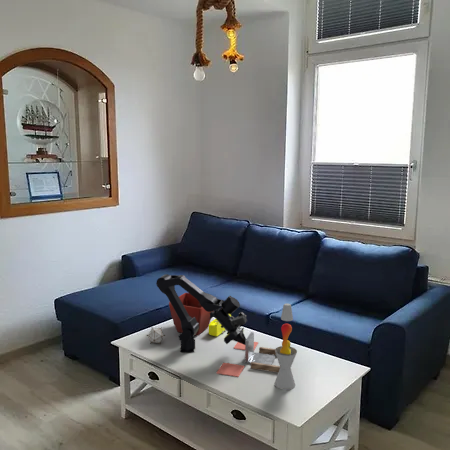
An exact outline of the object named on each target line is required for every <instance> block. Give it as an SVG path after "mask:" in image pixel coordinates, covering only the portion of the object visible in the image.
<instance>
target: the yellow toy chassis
mask: <svg viewBox="0 0 450 450" xmlns="http://www.w3.org/2000/svg"><path fill="white" fill-rule="evenodd" d="M229 315H230V317H231V316H232V314H229ZM221 326H222V325H221V324H220V323H219V322H218V320H217V319H216V318H214V319H213V320H210V323H209V326H208V335H210V336H214V337H218V336H219V335H221V334H224V332H227V331H226V329H225V328H224V327H223V328H221Z"/></svg>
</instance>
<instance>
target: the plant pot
mask: <svg viewBox="0 0 450 450" xmlns="http://www.w3.org/2000/svg"><path fill="white" fill-rule="evenodd" d="M178 296H179V298H180V300H181V302H182V304H183V305H184V307H185V309H186V311H187V313H188V314H189V316H190V317H192V318H194V317H195V318H196V320H197V322H198V323H199V324H198V325H199V330H198V332H197V333H196V334H195V335H194V336H196V337H197V336H199V335H200V334H202V333H203V332H204V331H206V330H208V329H209V324H210V322H211V321H212V318H211V319H210V312H207V311H206V310H205V309H204V308H203V307H202V306H201V305H200V303H199V301H198V300H197V299H196V298H195V297H193V296H192V295H191V294H189V293H188V292H184V293H182V294H181V295H178ZM168 306H169V310H170V316H171V319H172V322H173V325H174V328H175V329H176V332H178V333H182V332H183V331H182V328H181V321H180V319H179V317H178V315H177V314H176V312H175V310H174V308H173V306H172V305H171V303H170V301H168ZM211 312H214V310H213V311H211Z"/></svg>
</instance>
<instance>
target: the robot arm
mask: <svg viewBox="0 0 450 450" xmlns="http://www.w3.org/2000/svg"><path fill="white" fill-rule="evenodd" d="M155 284H156V288H158V289H159V291H160V292H161V293H162V294H164V295H165V296H166V298H167V299H168V302H170V303H171V305H172V306H173V308H174V310H175V312H176V314H177V315H178V317H179V319H180V321H181V328H182V331H183V332H180V334H179V335H178V340H179V341H180V351H179V352H180V353H195V350H196V339H195V336H196V335H195V334H196V333H197V332H198V330H199V325H198V324H199V323H198V322H197V320H196V318H195V317H194V318H192V317H190V316H189V314H188V313H187V311H186V309H185V307H184V305H183V304H182V302H181V300H180V298H179V296H180V295H178V293H177V291H176V288H175V286H179V287H180V288H182V289H183V290H184V291H186V293H189V294H191V295H192V296H193V297H195V298H196V299H197V300H198V301H199V303H200V305H201V306H202V307H203V308H204V309H205V310H206V311H207V312H210V319H211V320H212V319H213V318H214V319H217V320H218V322H219V323H220V324H221V325H222V326H221V328H223V327H224V328H225V329H226V331H225V332H226V334H227V335H225V336H224V338H223V342H224V343H225V344H226V345H228V344H229V343H230V342H232V341H233V342H236V343H237V342H239V343H241V344H244V345H245V341H246V339H247V337H246V336H245V334H244V330H245V327H244V325H245V324H246V323H247V322H248V319H247V315H246V313H244V312H243V311H240V312H239V313H238V316H236V317H234V316H233V315H232V314H233V313H234V312H235V311H236V310H237V309H239V308H240V307H241V304H240V302H239V300H238V299H237V298H235V297H234V296H232V295H228V297H226V299H225V300H224V299H219V298H217V297H216V296H214V295H213V294H210V293H208V292H205V291H203V289H200V288H199V287H198V286H197V285H196V284H195V283H193V282H192V281H190V279H188V278H187V277H186V276H185V275H184V274H178V275H177V274H172V275H171V274H167V273H166V274H163V275H162V276H160V277H158V279H156V282H155ZM211 311H213V312H211ZM229 314H230V315H231V317H230V315H229Z"/></svg>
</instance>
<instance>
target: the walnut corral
mask: <svg viewBox="0 0 450 450" xmlns="http://www.w3.org/2000/svg"><path fill="white" fill-rule="evenodd" d="M275 349H276V348H271V347H270V348H269V347H263V346H260V347H259V348H258V353H261V354H268V355H275V356H276V353H275ZM250 369H252V370H253V369H254V370H259V371H266V372H273V373H278V372H279V369H280V365H276V364H275V365H274V364H272V365H269V364H262V363H256V362H251V364H250Z"/></svg>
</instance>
